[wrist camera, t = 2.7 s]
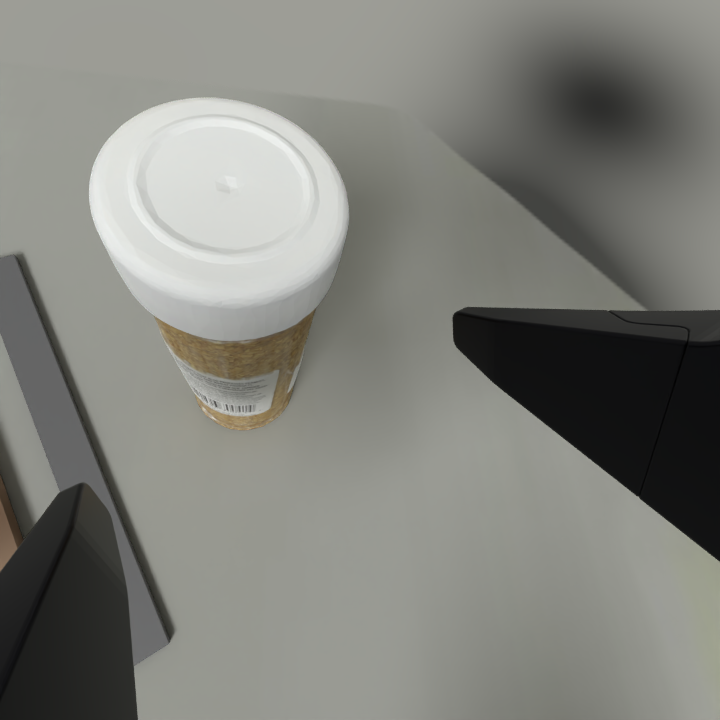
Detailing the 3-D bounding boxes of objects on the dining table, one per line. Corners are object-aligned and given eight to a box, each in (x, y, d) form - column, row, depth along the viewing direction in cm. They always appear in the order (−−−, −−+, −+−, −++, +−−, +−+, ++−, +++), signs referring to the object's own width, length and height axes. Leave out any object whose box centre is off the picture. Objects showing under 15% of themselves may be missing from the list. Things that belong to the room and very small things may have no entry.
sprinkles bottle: (310, 376, 20) (398, 186, 8) (251, 452, 19) (249, 355, 6) (236, 323, 20) (212, 48, 8) (170, 393, 18) (6, 178, 6)
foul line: (170, 641, 16) (168, 643, 15) (129, 667, 15) (127, 669, 15) (17, 258, 19) (13, 254, 18) (-22, 268, 18) (-26, 264, 18)
